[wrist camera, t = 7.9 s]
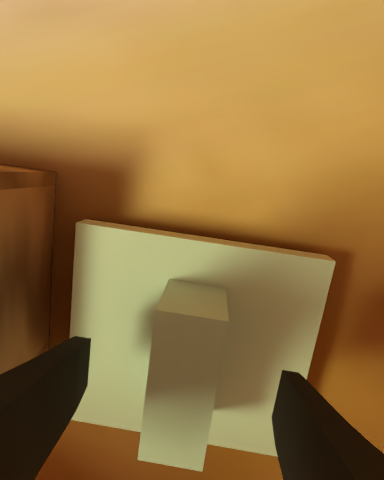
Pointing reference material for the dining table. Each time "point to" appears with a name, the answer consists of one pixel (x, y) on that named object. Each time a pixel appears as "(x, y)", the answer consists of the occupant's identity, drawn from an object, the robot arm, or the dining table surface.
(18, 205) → the crate
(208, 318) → the lid
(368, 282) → the dining table surface
